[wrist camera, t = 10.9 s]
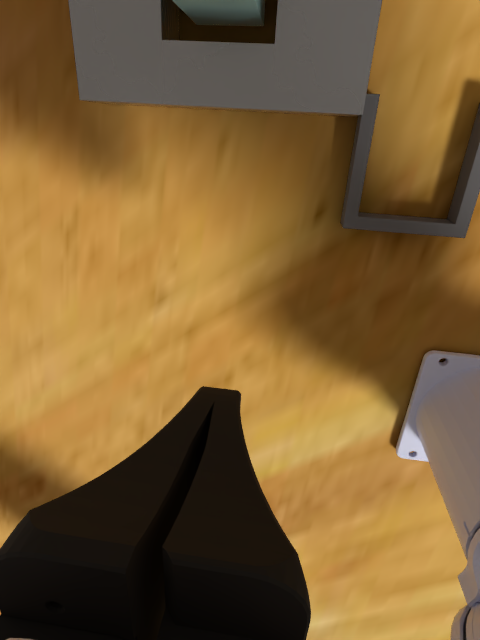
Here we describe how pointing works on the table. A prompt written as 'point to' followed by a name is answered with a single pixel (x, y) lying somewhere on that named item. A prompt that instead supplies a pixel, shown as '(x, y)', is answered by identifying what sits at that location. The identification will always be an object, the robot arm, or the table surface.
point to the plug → (224, 12)
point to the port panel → (226, 58)
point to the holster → (473, 178)
